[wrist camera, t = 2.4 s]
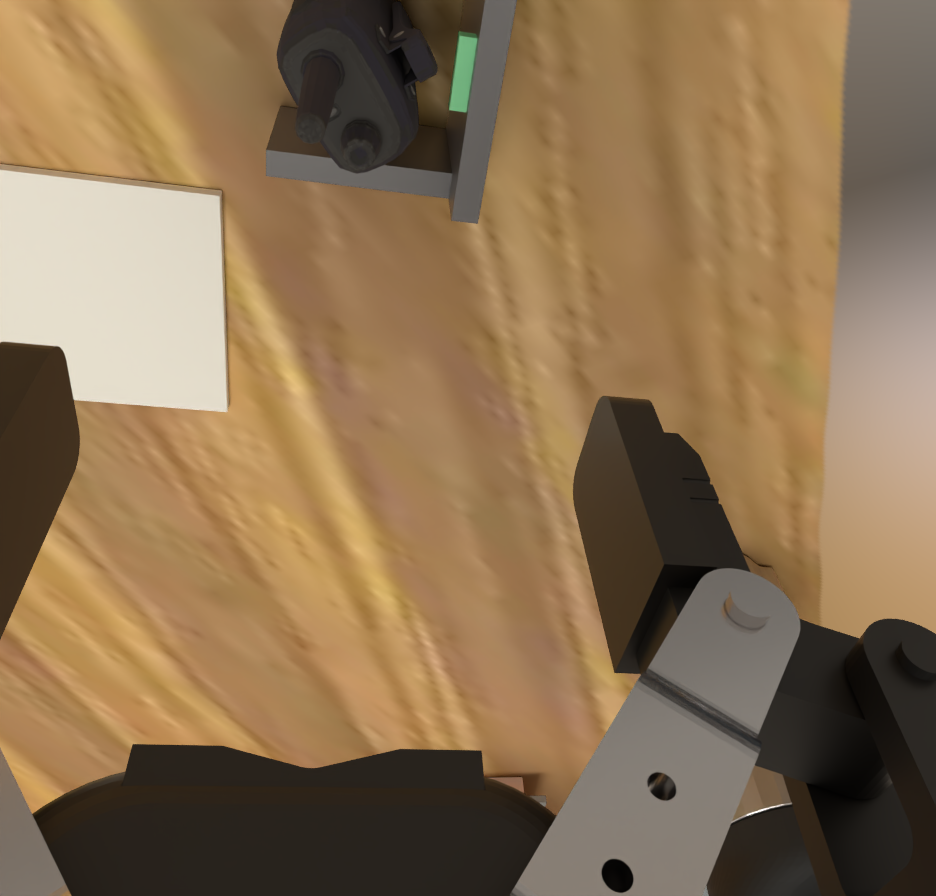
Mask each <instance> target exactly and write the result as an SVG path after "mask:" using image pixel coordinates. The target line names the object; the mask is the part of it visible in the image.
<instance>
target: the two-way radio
mask: <svg viewBox="0 0 936 896" xmlns="http://www.w3.org/2000/svg"><path fill="white" fill-rule="evenodd" d="M277 61H278V68H279V70H280V73H281V75H282V77H283V80H284V82H285V84H286V86H287V88H288V90H289V91H290V93H291V95H292V97H293V99H294V101H295V102H296V104H297V106H298V109H297V116H296V123H295V131H296V134H297V136H298V137H299V138H300V139H301V140H302V141H303V142H305V143H308V144H315V143H319V142H320V143H321V144H322V146H323V147H324V149H325V150H326V151H327V153H328V154H329V156H330V157H331V158H332V160H333V161H334V162H335V163H336V164H337V165H338V167H339V168H341V169H344V170H347V171H350V172H353V173H356V174H358V173H364V172H368V171H371V170H373V169H376V168H378V167H381V166H383V165H385V164H387V163H388V162H391V161H393V160H395V159H396V158H397V157H398V156H399V155H401V154H402V153H403V152H404V150H405V149H406V148H407V147H408V145H409V144H410V143H411V142H412V141H413V140H414V139H415V138H416V135H417V131H418V127H419V115H418V103H417V95H416V86H415V82H416V81H418V80H419V82H420V83H421V82H423V81H425V80H427V79H428V78H430V77H432V76H434V75H436V73H437V71H438V68H437V64H436V61H435V59H434V56H433V54H432V52H431V49H430V47H429V45H428V43H427V42H426V40H425V38H424V36H423V35H422V33H421V31H420V29H414V28H413V26H412V23H411V21H410V18H409V16H408V15H407V13H406V11H405V9H404V8H403V6H402V4H401V2H396V1H395V0H294V2H293V5H292V9H291V11H290V13H289V15H288V18H287V20H286V22H285V25H284V28H283V31H282V34H281V38H280V41H279V45H278V49H277Z"/></svg>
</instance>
